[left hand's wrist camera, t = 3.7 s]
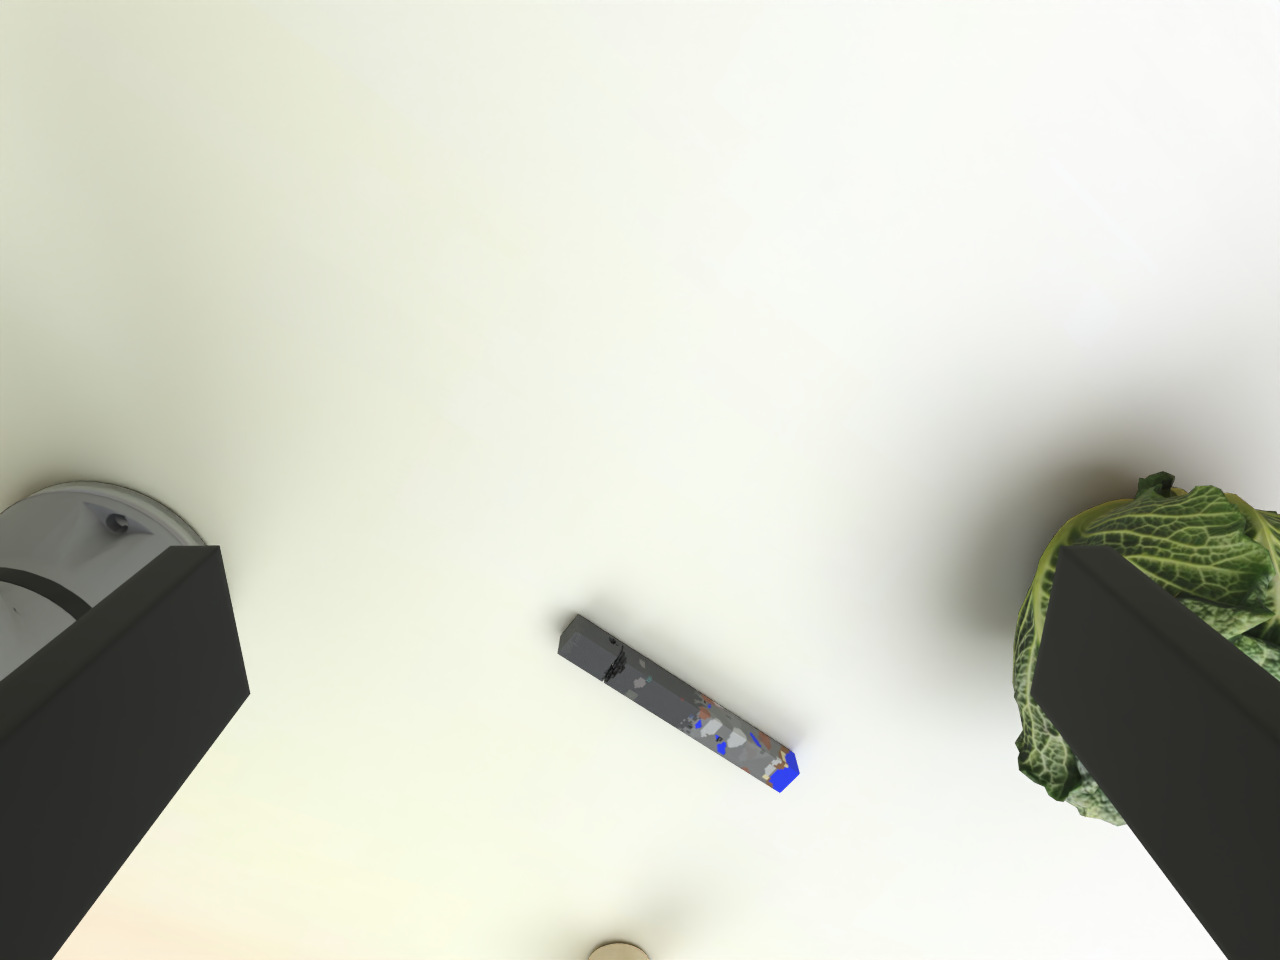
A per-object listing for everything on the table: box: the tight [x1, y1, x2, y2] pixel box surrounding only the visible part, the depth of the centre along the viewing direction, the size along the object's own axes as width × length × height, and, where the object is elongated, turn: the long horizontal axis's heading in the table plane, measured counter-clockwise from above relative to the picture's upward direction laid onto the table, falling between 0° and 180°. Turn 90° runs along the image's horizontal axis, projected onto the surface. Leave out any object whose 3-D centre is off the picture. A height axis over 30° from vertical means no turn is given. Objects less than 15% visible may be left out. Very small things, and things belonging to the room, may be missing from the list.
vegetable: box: [1012, 471, 1280, 826], centre depth 46 cm, size 20×19×20 cm
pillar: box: [558, 614, 800, 793], centre depth 57 cm, size 2×2×20 cm
